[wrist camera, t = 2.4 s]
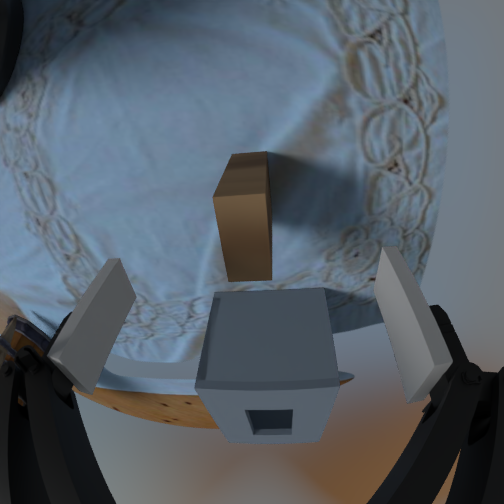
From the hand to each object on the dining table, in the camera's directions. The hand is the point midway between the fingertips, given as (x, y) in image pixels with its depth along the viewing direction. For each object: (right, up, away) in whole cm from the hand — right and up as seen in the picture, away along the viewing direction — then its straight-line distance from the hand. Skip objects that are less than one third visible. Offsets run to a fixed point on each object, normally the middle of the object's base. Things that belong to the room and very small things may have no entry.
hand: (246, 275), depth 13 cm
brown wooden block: (0, +6, +8) cm, 10 cm away
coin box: (+3, -9, +19) cm, 21 cm away
